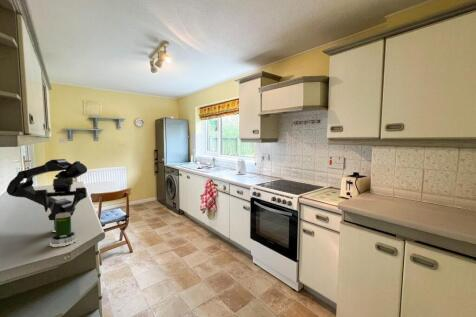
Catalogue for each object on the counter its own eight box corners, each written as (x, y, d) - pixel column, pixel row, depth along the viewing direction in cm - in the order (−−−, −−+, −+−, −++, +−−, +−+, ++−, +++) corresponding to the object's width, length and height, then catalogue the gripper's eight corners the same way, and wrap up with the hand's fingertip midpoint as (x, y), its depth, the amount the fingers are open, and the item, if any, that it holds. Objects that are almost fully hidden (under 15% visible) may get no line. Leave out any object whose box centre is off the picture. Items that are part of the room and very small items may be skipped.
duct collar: (52, 240, 97) (52, 233, 97) (79, 236, 102) (79, 229, 102) (45, 249, 89) (45, 242, 88) (76, 244, 93) (76, 237, 93)
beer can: (72, 240, 96) (72, 214, 95) (56, 244, 92) (56, 216, 91) (70, 237, 99) (69, 211, 99) (54, 240, 95) (54, 213, 95)
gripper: (34, 172, 96) (26, 202, 87) (85, 170, 105) (82, 198, 96) (40, 186, 103) (33, 216, 94) (88, 184, 112) (85, 211, 103)
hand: (59, 210), depth 97 cm, fingers open, 9 cm apart
